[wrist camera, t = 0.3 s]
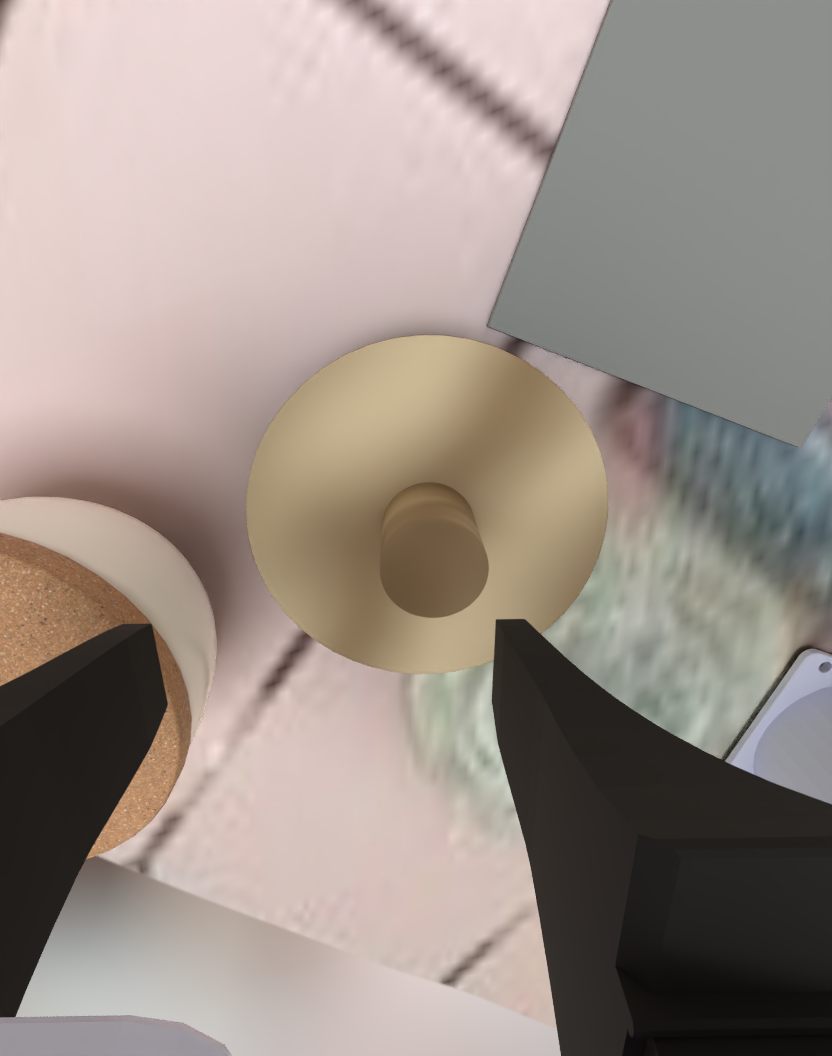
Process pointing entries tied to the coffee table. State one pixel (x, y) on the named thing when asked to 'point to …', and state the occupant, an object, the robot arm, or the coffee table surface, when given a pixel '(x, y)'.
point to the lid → (425, 503)
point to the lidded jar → (107, 621)
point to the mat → (692, 212)
